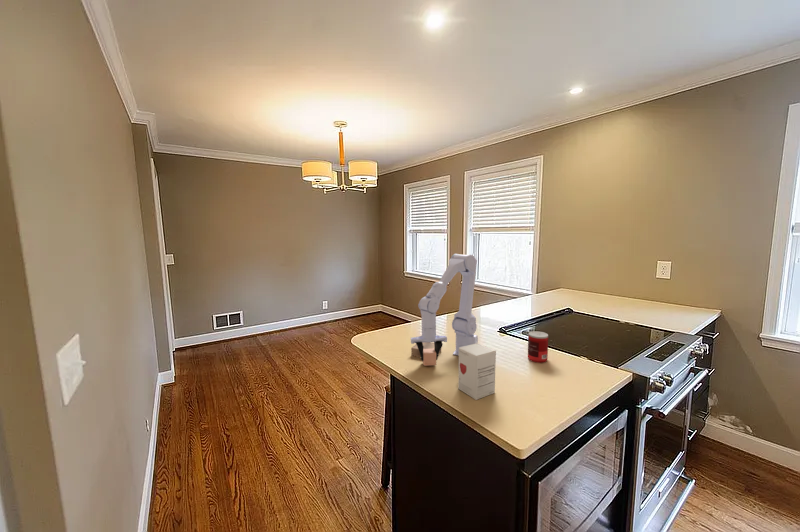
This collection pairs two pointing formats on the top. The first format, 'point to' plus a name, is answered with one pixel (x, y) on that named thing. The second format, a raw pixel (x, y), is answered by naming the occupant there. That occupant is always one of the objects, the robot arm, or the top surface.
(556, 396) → the top surface
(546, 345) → the canned food
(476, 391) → the supplement box
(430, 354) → the terracotta cube
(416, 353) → the walnut block
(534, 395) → the top surface
